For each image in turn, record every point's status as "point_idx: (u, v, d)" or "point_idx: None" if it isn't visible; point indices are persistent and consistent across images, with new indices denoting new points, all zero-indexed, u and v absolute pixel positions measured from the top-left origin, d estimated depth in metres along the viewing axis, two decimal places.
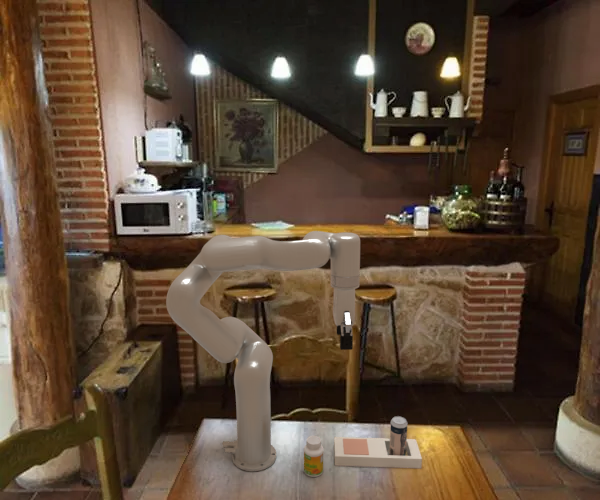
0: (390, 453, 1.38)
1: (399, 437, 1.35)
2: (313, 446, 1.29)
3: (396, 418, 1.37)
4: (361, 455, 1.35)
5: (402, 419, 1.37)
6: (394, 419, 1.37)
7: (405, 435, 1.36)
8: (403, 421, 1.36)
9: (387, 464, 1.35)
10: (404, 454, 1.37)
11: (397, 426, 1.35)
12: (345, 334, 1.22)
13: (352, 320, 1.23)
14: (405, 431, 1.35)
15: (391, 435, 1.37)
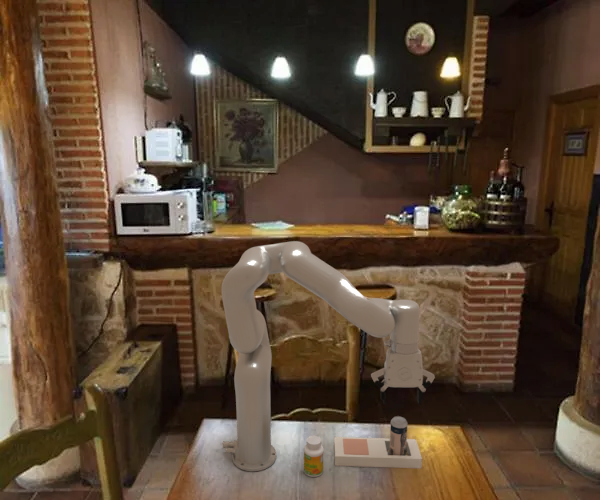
0: (390, 453, 1.38)
1: (399, 437, 1.35)
2: (313, 446, 1.29)
3: (396, 418, 1.37)
4: (361, 455, 1.35)
5: (402, 419, 1.37)
6: (394, 419, 1.37)
7: (405, 435, 1.36)
8: (403, 421, 1.36)
9: (387, 464, 1.35)
10: (404, 454, 1.37)
11: (397, 426, 1.35)
12: None
13: None
14: (405, 431, 1.35)
15: (391, 435, 1.37)
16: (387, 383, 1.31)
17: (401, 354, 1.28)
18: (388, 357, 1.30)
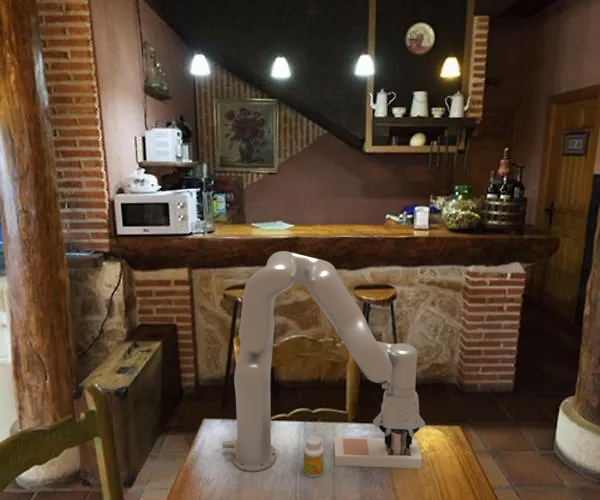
0: (390, 453, 1.38)
1: (399, 437, 1.35)
2: (313, 446, 1.29)
3: None
4: (361, 455, 1.35)
5: None
6: None
7: (405, 435, 1.36)
8: None
9: (387, 464, 1.35)
10: (404, 454, 1.37)
11: None
12: None
13: None
14: (405, 431, 1.35)
15: (391, 435, 1.37)
16: (384, 425, 1.34)
17: (398, 397, 1.31)
18: (385, 400, 1.33)
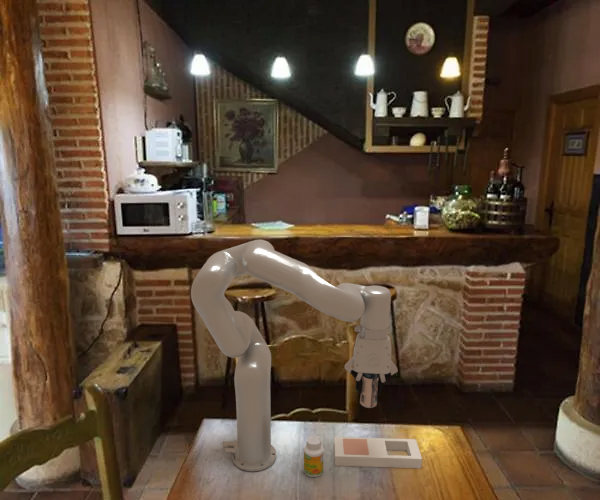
0: (361, 399, 1.35)
1: (370, 382, 1.32)
2: (313, 446, 1.29)
3: None
4: (361, 455, 1.35)
5: None
6: None
7: (377, 380, 1.32)
8: None
9: (387, 464, 1.35)
10: (375, 401, 1.34)
11: None
12: None
13: None
14: (377, 376, 1.32)
15: (362, 380, 1.33)
16: (355, 369, 1.31)
17: (370, 340, 1.28)
18: (357, 342, 1.30)
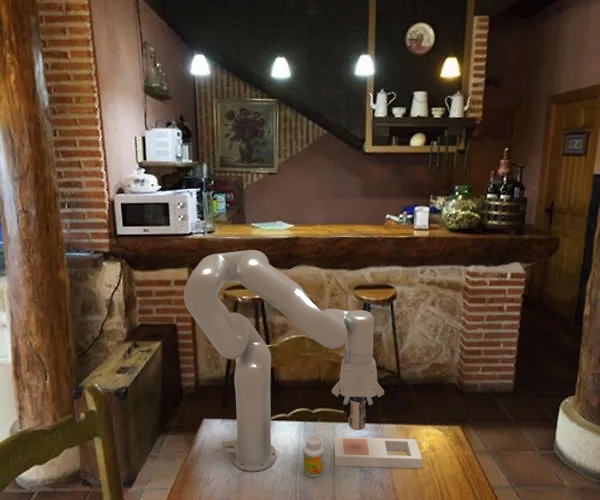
0: (349, 422, 1.36)
1: (357, 405, 1.33)
2: (313, 446, 1.29)
3: None
4: (361, 455, 1.35)
5: None
6: None
7: (364, 403, 1.34)
8: None
9: (387, 464, 1.35)
10: (363, 423, 1.36)
11: None
12: None
13: None
14: (364, 399, 1.34)
15: (350, 403, 1.35)
16: (342, 393, 1.32)
17: (355, 364, 1.29)
18: (343, 367, 1.31)
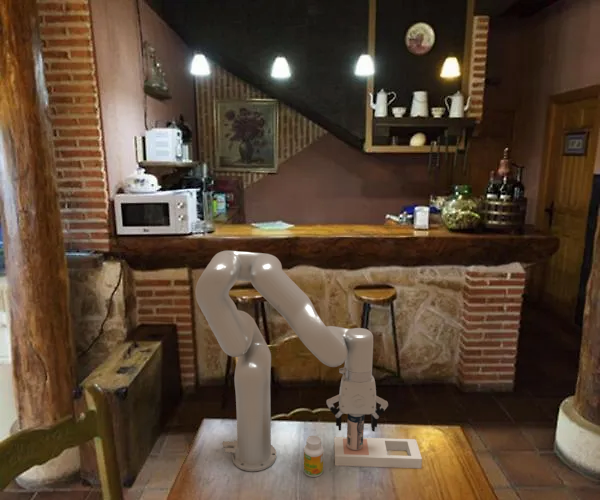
0: (347, 442, 1.38)
1: (355, 426, 1.35)
2: (313, 446, 1.29)
3: None
4: (361, 455, 1.35)
5: None
6: None
7: (362, 424, 1.35)
8: None
9: (387, 464, 1.35)
10: (361, 443, 1.37)
11: (354, 414, 1.35)
12: None
13: None
14: (362, 420, 1.35)
15: (348, 424, 1.36)
16: (341, 410, 1.34)
17: (354, 382, 1.31)
18: (342, 384, 1.33)
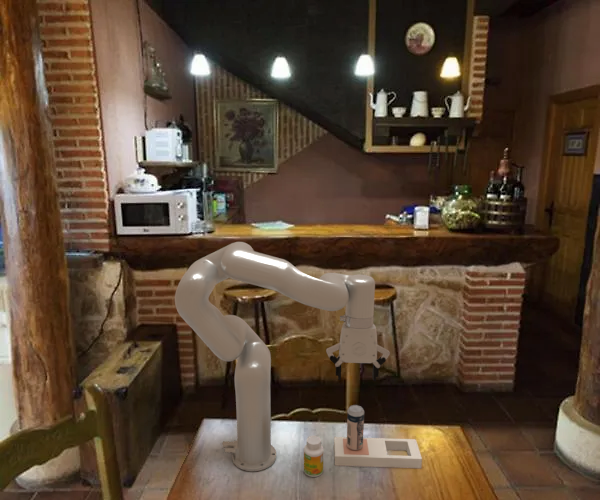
0: (347, 442, 1.38)
1: (355, 426, 1.35)
2: (313, 446, 1.29)
3: (353, 407, 1.37)
4: (361, 455, 1.35)
5: (359, 408, 1.37)
6: (351, 408, 1.37)
7: (362, 424, 1.36)
8: (360, 409, 1.36)
9: (387, 464, 1.35)
10: (361, 443, 1.37)
11: (354, 414, 1.35)
12: None
13: None
14: (361, 419, 1.35)
15: (348, 424, 1.36)
16: (341, 358, 1.30)
17: (355, 328, 1.27)
18: (342, 332, 1.29)
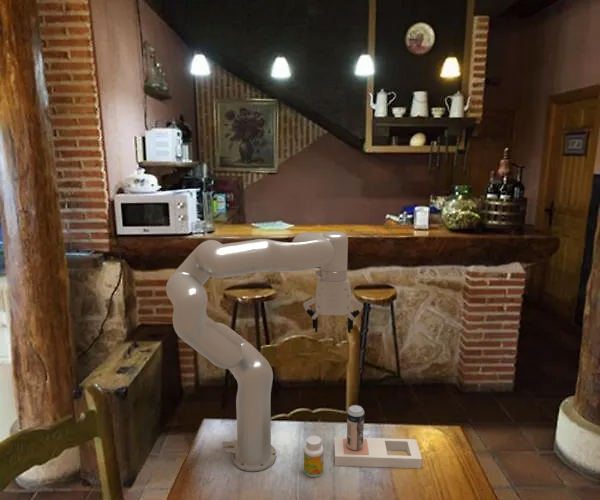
0: (347, 442, 1.38)
1: (355, 426, 1.35)
2: (313, 446, 1.29)
3: (353, 407, 1.37)
4: (361, 455, 1.35)
5: (359, 408, 1.37)
6: (351, 408, 1.37)
7: (362, 424, 1.36)
8: (360, 410, 1.36)
9: (387, 464, 1.35)
10: (361, 443, 1.37)
11: (354, 414, 1.35)
12: None
13: None
14: (361, 419, 1.35)
15: (348, 424, 1.36)
16: (317, 310, 1.38)
17: (329, 281, 1.35)
18: (318, 285, 1.37)
